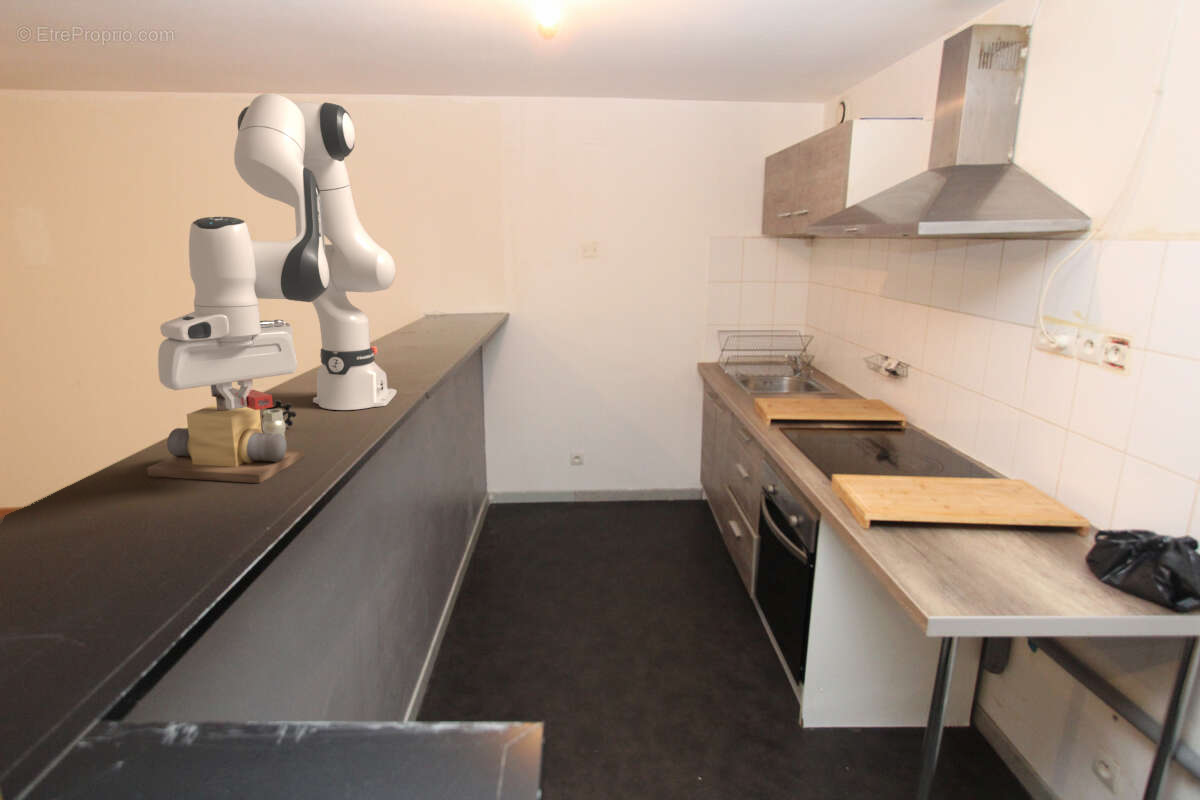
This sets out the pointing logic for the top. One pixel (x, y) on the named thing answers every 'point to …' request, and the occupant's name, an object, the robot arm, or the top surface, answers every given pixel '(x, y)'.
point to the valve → (277, 418)
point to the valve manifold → (225, 447)
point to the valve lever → (249, 398)
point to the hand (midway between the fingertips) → (237, 407)
